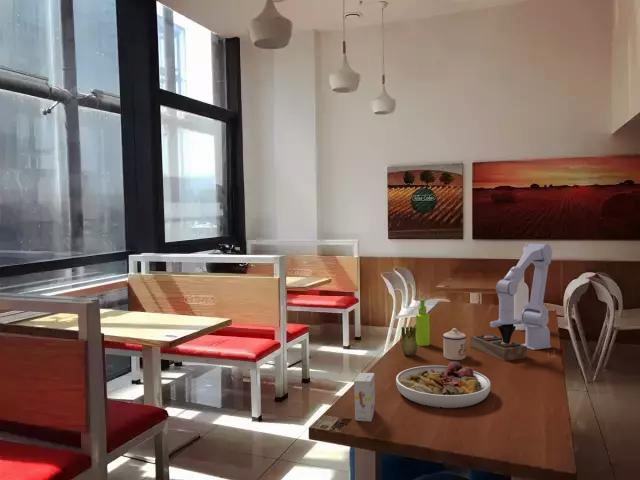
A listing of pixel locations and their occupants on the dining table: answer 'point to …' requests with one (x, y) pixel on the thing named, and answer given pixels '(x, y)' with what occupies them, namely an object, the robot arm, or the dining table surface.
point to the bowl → (443, 385)
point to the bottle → (520, 302)
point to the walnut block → (498, 347)
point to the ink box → (364, 396)
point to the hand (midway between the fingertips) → (506, 343)
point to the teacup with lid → (454, 345)
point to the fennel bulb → (409, 341)
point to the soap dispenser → (422, 325)
